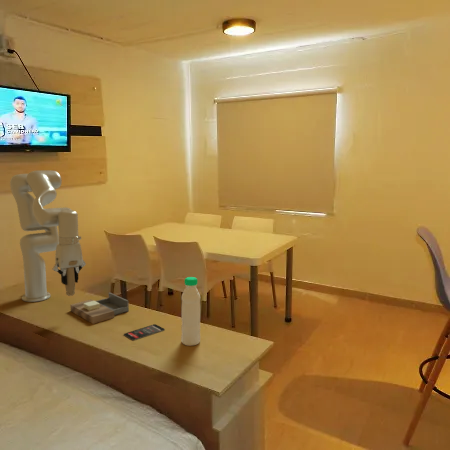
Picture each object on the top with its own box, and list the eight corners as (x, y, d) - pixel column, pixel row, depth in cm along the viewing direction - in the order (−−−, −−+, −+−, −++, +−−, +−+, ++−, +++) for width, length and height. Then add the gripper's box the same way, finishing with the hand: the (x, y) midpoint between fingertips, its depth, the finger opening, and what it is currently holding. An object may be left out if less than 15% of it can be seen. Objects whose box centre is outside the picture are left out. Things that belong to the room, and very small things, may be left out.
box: (94, 306, 190) (93, 296, 190) (110, 302, 196) (109, 292, 195) (112, 316, 179) (112, 305, 179) (128, 311, 185) (128, 300, 184)
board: (70, 311, 185) (70, 304, 184) (91, 305, 192) (91, 299, 191) (92, 323, 171) (92, 317, 170) (114, 317, 178) (114, 310, 177)
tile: (83, 307, 181) (83, 303, 180) (94, 304, 184) (94, 300, 184) (89, 310, 177) (89, 306, 177) (99, 307, 181) (99, 303, 180)
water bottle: (183, 347, 151) (183, 281, 147) (179, 339, 158) (179, 276, 154) (202, 345, 153) (202, 280, 149) (197, 337, 160) (198, 274, 156)
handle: (66, 292, 176) (65, 258, 174) (80, 293, 176) (79, 259, 173) (60, 296, 172) (59, 261, 169) (74, 297, 171) (73, 262, 168)
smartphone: (122, 333, 161) (155, 323, 171) (122, 335, 161) (155, 325, 171) (132, 340, 156) (165, 329, 166) (132, 341, 156) (165, 330, 166)
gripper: (83, 236, 178) (84, 277, 181) (44, 241, 166) (46, 284, 169) (92, 239, 173) (92, 281, 176) (52, 244, 161) (54, 289, 164)
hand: (70, 282), depth 173 cm, fingers closed on handle, 4 cm apart
